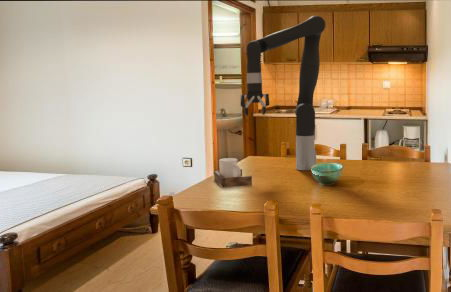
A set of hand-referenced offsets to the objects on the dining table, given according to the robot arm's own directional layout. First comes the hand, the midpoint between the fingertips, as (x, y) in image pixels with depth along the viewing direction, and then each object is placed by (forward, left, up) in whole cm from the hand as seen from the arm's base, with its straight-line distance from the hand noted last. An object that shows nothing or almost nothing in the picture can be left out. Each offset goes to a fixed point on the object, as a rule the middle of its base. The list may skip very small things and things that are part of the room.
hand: (255, 115), depth 252 cm
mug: (+18, +22, -28) cm, 41 cm away
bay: (+18, +23, -28) cm, 40 cm away
